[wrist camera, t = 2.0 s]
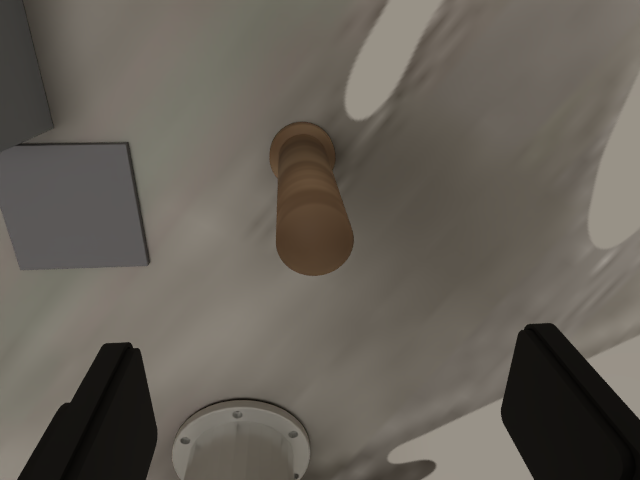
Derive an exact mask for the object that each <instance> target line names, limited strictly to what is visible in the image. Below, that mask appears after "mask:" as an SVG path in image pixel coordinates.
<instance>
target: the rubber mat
mask: <svg viewBox="0 0 640 480" xmlns="http://www.w3.org/2000/svg"><path fill="white" fill-rule="evenodd" d="M0 208H1V211H2V214H3V217H4V220H5V223H6V227H7V230H8V233H9V236H10V239H11V242H12V245H13V248H14V252H15V255H16V258H17V261H18V264H19V267H20V270H38V269H68V268H98V267H129V266H148V265H149V263H150V262H149V257H148V251H147V246H146V240H145V235H144V229H143V223H142V218H141V212H140V207H139V201H138V196H137V190H136V184H135V179H134V173H133V168H132V162H131V156H130V151H129V145H128V143H65V144H18V145H15V146H13V147H11V148H9V149H7V150H4V151H2V152H0Z"/></svg>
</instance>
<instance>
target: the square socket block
mask: <svg viewBox="0 0 640 480" xmlns="http://www.w3.org/2000/svg"><path fill="white" fill-rule="evenodd" d="M53 128H54V127H53V123H52V119H51V115H50V111H49V107H48V103H47V99H46V95H45V91H44V87H43V83H42V79H41V74H40V70H39V66H38V62H37V58H36V54H35V50H34V46H33V42H32V38H31V34H30V30H29V26H28V22H27V18H26V13H25V9H24V5H23V1H22V0H0V152H2V151H4V150H7V149H9V148H11V147H13V146H15V145H18V144H20V143H22V142H24V141H26V140H29V139H31V138H33V137H35V136H38V135H40V134H42V133H44V132H46V131H49V130H51V129H53Z"/></svg>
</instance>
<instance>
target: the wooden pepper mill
mask: <svg viewBox="0 0 640 480" xmlns="http://www.w3.org/2000/svg"><path fill="white" fill-rule="evenodd" d="M334 164H335V150H334V146H333V144H332V141H331V139H330V137H329V136H328V134H327V133H326V132H325V131H324V130H323V129H322V128H320V127H319V126H317V125H315V124H312V123H308V122H296V123H292V124H289V125H287V126H285V127H284V128H282V129H281V130H280V131H279V132H278V133H277V134H276V136H275V137H274V139H273V141H272V144H271V148H270V165H271V168H272V171H273V173H274V174H275V176H276V177H277V178H278V194H277V225H276V248H277V251H278V254H279V256H280V258H281V260H282V261H283V262H284V263H285V264H286V265H287V266H288V267H289V268H290V269H292V270H293V271H295V272H297V273H300V274H304V275H309V276H318V275H324V274H327V273H330V272H332V271H334V270H336V269H338V268H339V267H340V266H341V265H342V264H343V263H344V262H345V261H346V260H347V259H348V257H349V255H350V253H351V251H352V248H353V242H354V236H353V231H352V228H351V225H350V222H349V219H348V216H347V213H346V210H345V207H344V204H343V201H342V198H341V195H340V193H339V190H338V187H337V184H336V181H335V178H334V175H333V172H332V170H333V168H334Z"/></svg>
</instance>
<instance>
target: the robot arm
mask: <svg viewBox="0 0 640 480" xmlns="http://www.w3.org/2000/svg"><path fill="white" fill-rule="evenodd" d="M501 417H502V421H503V423H504V425H505V427H506V429H507V431H508V432H509V435H510V436H511V438H512V440H513V442H514V443H515V446H516V447H517V449H518V451H519V453H520V455H521V456H522V458H523V460H524V462H525V464H526V465H527V467H528V469H529V471H530V473H531V474H532V476H533V478H534V480H640V420H639V418H638V417H637V416H636V415H635V414H634V413H633V412H632V411H631V410H630V408H628V406H627V405H626V404H625V403H624V402H623V401H622V400H621V398H620V397H619V396H618V395H617V394H616V393H615V392H614V391H613V390H612V388H611V387H610V386H609V385H608V384H607V383H606V382H605V381H604V380H603V379H602V377H600V375H599V374H598V373H597V372H596V371H595V369H594V368H593V367H592V366H591V365H590V364H589V363H588V362H587V361H586V359H585V358H584V357H583V356H582V355H581V354H580V353H579V352H578V351H577V349H576V348H575V347H574V346H573V345H572V344H571V343H570V342H569V340H568V339H567V338H566V337H565V336H564V335H563V334H562V333H561V332H560V330H559V329H558V328H557V327H556V326H555V325H554V324H551V323H542V324H528V325H526V327H525V329H524V330H521V331H520V332H519V334H518V337H517V341H516V346H515V350H514V354H513V359H512V363H511V367H510V372H509V376H508V381H507V385H506V389H505V394H504V398H503V403H502V407H501ZM156 443H157V426H156V421H155V416H154V412H153V407H152V402H151V398H150V393H149V388H148V384H147V379H146V374H145V370H144V365H143V360H142V356H141V352H140V349H139V348H133V346H132V344H131V343H129V342H126V343H106V344H104V345H103V346H102V347H101V349H100V351H99V352H98V354H97V356H96V358H95V360H94V361H93V363H92V365H91V367H90V369H89V370H88V372H87V374H86V376H85V377H84V379H83V381H82V383H81V385H80V386H79V388H78V390H77V392H76V393H75V395H74V397H73V399H72V401H71V402H70V403H65V404H63V405H62V406H61V407H60V408H59V409H58V411H57V412H56V414H55V415H54V417H53V419H52V421H51V422H50V424H49V426H48V428H47V429H46V431H45V433H44V434H43V436H42V438H41V440H40V441H39V443H38V445H37V446H36V448H35V450H34V452H33V453H32V455H31V457H30V458H29V460H28V462H27V464H26V465H25V467H24V469H23V470H22V472H21V474H20V476H19V477H18V479H17V480H146V477H147V474H148V470H149V467H150V464H151V460H152V457H153V454H154V450H155V447H156ZM309 461H310V442H309V439H308V435H307V433H306V431H305V429H304V428H303V426H302V424H301V423H300V422H299V421H298V420H297V419H296V418H295V417H294V416H292V415H291V414H289V413H288V412H286V411H285V410H283V409H281V408H278V407H276V406H274V405H271V404H267V403H264V402H258V401H250V400H234V401H227V402H221V403H218V404H215V405H212V406H208V407H206V408H204V409H202V410H200V411H198V412H197V413H195V414H194V415H193V416H191V417H190V418H189V419H187V421H186V422H185V423H184V424H183V425H182V426H181V427H180V429H179V431H178V433H177V435H176V437H175V441H174V444H173V448H172V463H173V467H174V469H175V471H176V474H177V476H178V477H179V478H180V479H181V480H300V479H301V478H302V476H303V475H304V474H305V472H306V470H307V467H308V465H309Z"/></svg>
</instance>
